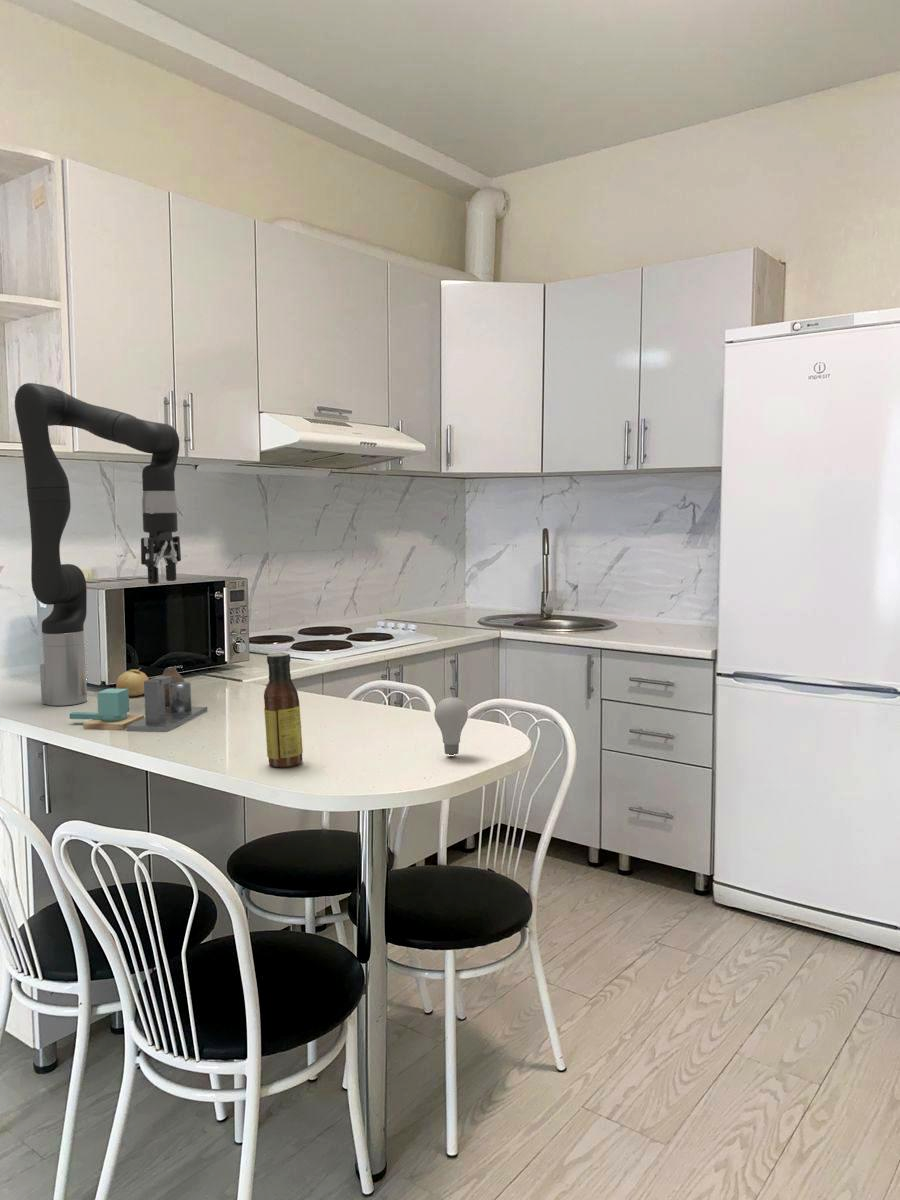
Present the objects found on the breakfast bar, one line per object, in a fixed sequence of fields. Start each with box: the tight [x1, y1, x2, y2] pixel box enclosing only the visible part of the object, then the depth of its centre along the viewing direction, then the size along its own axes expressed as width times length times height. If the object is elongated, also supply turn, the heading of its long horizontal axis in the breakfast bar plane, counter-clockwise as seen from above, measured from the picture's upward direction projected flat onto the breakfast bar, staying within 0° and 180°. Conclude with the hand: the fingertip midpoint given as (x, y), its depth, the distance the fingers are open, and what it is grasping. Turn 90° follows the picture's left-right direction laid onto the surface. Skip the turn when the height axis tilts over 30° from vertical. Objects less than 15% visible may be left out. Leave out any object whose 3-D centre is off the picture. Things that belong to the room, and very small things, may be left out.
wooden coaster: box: [82, 714, 145, 731], centre depth 196 cm, size 9×9×1 cm
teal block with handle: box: [68, 687, 130, 722], centre depth 196 cm, size 5×12×6 cm, turn 81°
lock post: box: [126, 675, 208, 733], centre depth 199 cm, size 9×20×10 cm, turn 171°
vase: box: [161, 667, 186, 708], centre depth 216 cm, size 7×7×9 cm
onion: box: [115, 667, 150, 698], centre depth 228 cm, size 8×8×7 cm
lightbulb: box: [433, 697, 469, 755], centre depth 166 cm, size 6×6×11 cm
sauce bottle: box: [263, 652, 304, 768], centre depth 162 cm, size 6×6×20 cm
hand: (162, 582), depth 210 cm, fingers open, 8 cm apart
